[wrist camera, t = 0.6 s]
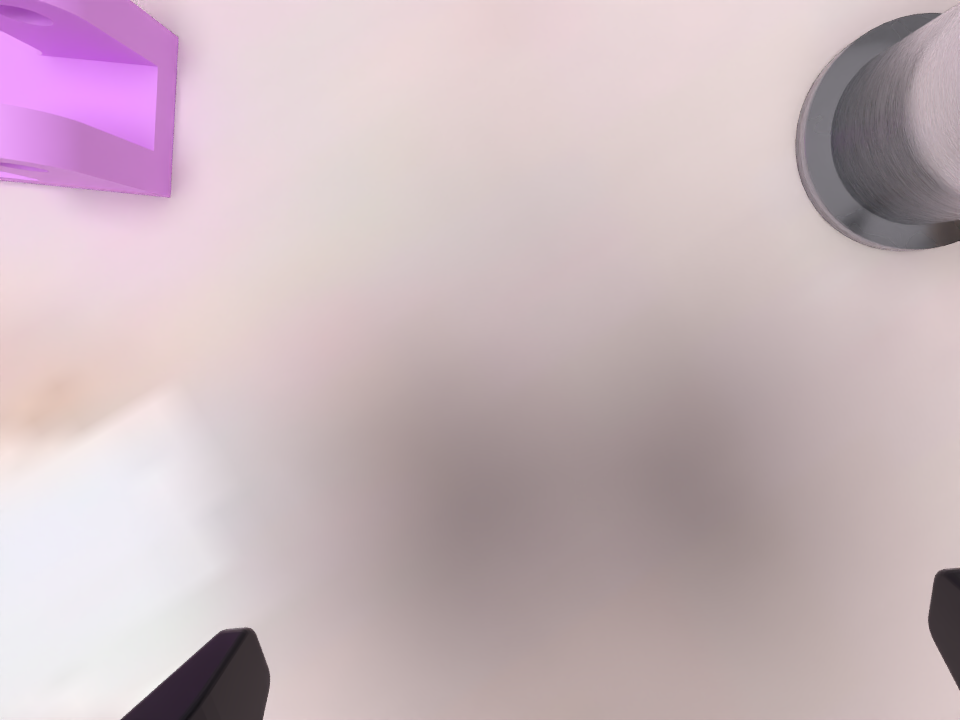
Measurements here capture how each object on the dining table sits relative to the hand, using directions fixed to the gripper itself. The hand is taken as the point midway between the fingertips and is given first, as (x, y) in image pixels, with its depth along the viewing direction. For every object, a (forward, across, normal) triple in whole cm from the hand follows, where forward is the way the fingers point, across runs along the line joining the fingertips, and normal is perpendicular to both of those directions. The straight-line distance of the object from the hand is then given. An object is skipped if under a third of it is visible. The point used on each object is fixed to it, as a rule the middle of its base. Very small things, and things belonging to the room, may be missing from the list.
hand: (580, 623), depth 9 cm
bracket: (+18, +18, -9) cm, 27 cm away
